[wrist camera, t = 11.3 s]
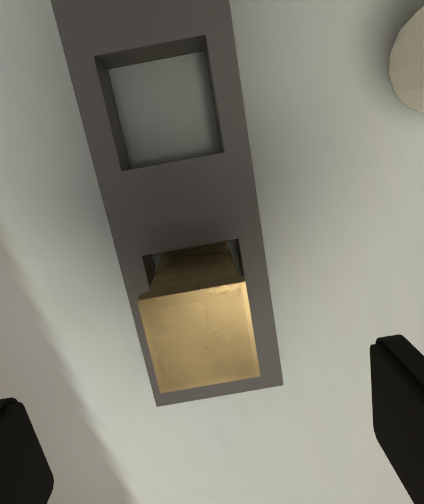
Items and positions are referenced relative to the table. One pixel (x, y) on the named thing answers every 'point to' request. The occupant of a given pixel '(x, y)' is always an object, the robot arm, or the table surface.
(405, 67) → the white short cylinder
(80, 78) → the rail
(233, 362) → the tan upright block
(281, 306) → the table surface
